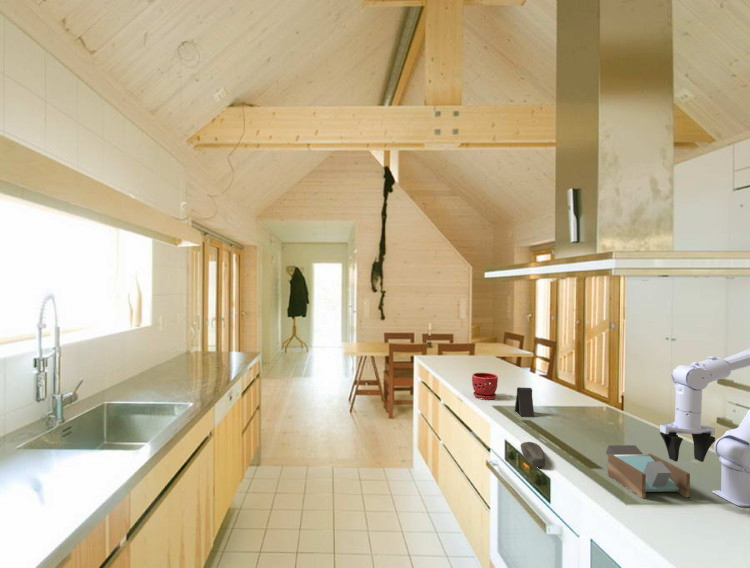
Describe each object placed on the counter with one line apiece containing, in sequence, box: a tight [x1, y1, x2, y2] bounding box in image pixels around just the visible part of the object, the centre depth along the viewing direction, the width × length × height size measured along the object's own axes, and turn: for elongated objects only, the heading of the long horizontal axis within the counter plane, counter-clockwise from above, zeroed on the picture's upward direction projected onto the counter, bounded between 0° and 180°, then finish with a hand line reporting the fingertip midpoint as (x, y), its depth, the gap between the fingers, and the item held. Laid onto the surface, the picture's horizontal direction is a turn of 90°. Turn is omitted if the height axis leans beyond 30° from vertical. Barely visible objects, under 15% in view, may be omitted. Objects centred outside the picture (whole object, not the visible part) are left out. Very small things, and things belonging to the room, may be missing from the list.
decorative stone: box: [520, 441, 546, 468], centre depth 137 cm, size 17×6×4 cm, turn 169°
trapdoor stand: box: [607, 453, 691, 499], centre depth 119 cm, size 14×14×6 cm
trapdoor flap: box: [605, 444, 679, 493], centre depth 122 cm, size 11×17×4 cm, turn 5°
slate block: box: [643, 461, 671, 486], centre depth 115 cm, size 4×4×5 cm
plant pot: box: [471, 372, 499, 400], centre depth 216 cm, size 13×13×12 cm
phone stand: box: [514, 386, 535, 418], centre depth 188 cm, size 9×6×12 cm, turn 179°
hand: (686, 460), depth 112 cm, fingers open, 7 cm apart
